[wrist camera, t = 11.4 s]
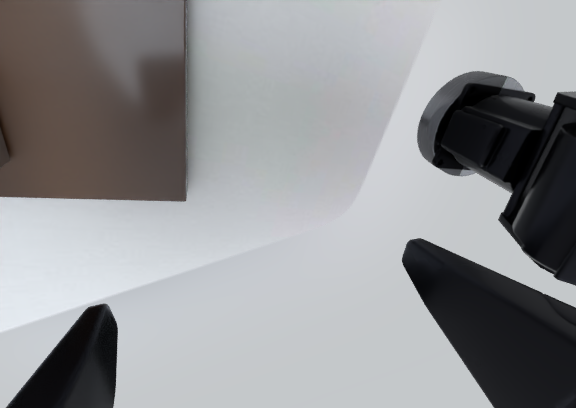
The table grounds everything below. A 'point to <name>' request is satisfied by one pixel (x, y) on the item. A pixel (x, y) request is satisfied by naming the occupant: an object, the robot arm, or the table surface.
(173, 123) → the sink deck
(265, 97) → the table surface
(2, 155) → the tap
